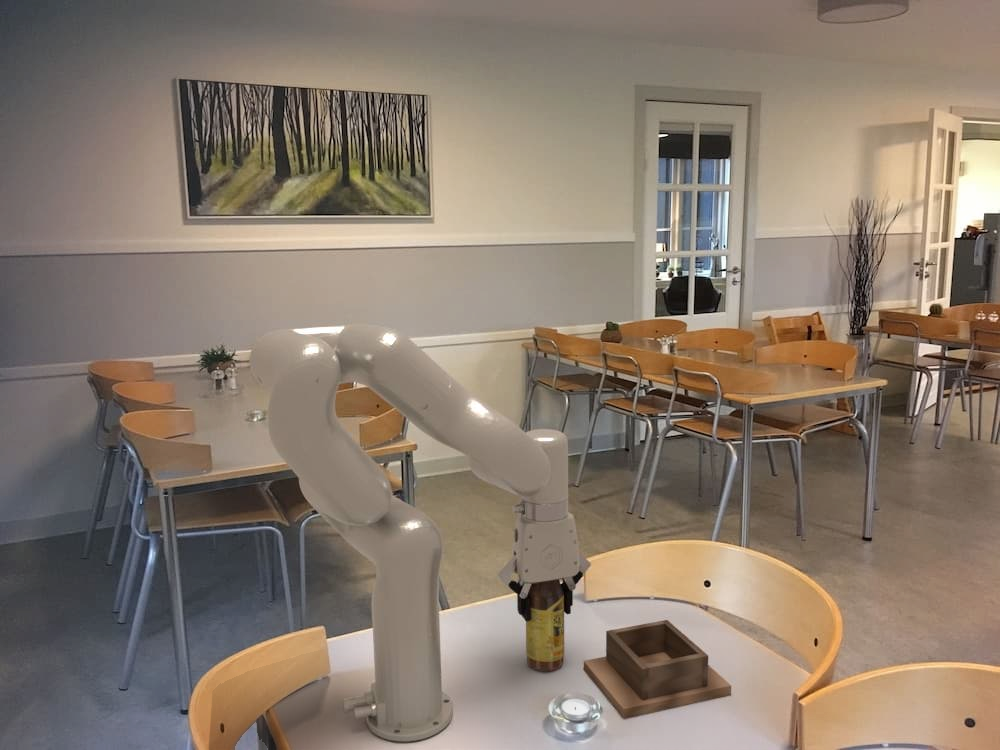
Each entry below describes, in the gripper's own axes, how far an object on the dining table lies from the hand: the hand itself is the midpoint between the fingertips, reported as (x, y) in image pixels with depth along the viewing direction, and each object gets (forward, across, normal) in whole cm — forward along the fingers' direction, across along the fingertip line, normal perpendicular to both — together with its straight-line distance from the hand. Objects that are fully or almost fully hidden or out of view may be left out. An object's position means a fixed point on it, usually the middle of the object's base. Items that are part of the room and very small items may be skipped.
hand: (545, 613), depth 126 cm
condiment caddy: (+9, +14, -11) cm, 20 cm away
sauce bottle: (+9, 0, 0) cm, 9 cm away
